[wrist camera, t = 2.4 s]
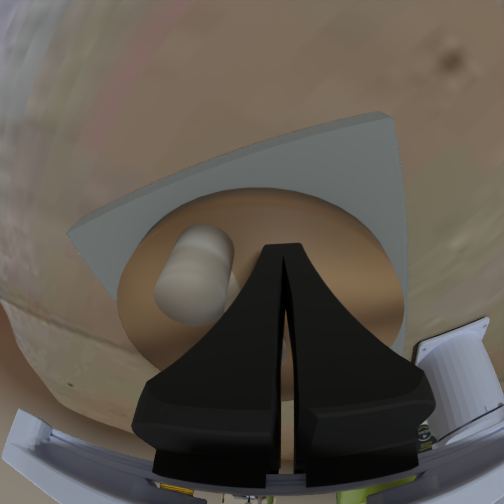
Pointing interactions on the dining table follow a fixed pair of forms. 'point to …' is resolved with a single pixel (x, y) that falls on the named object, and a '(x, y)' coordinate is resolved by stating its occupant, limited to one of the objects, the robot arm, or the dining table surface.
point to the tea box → (355, 500)
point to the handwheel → (248, 269)
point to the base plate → (270, 176)
